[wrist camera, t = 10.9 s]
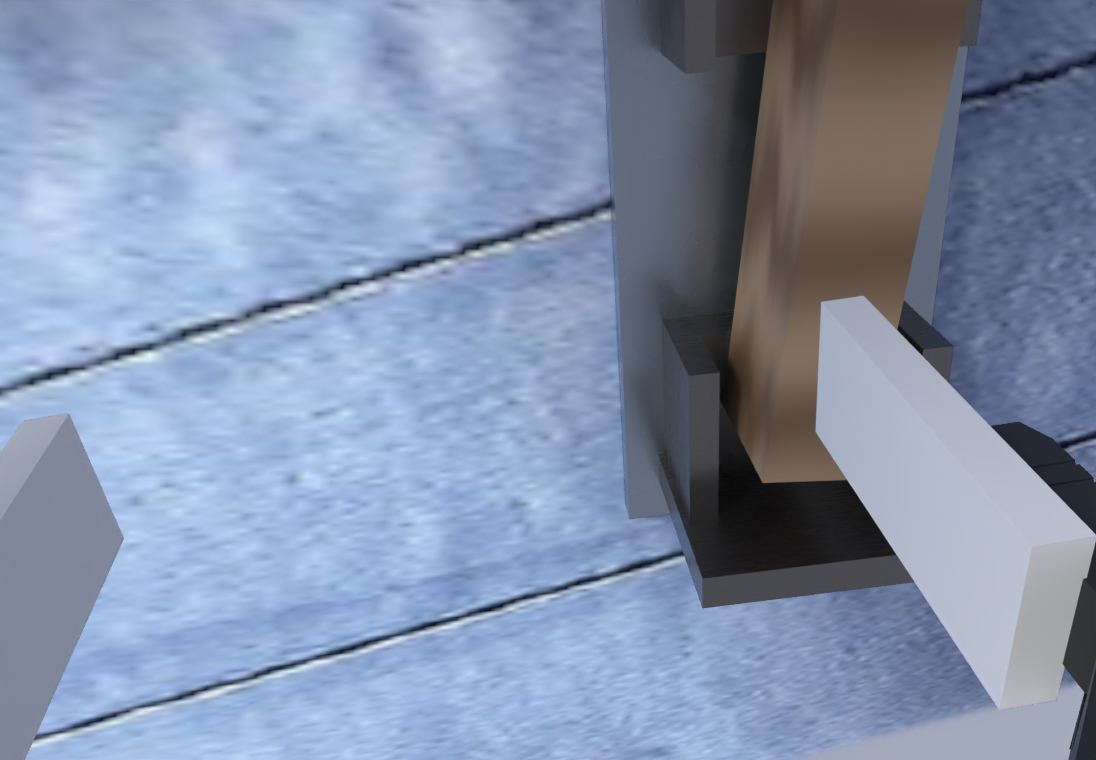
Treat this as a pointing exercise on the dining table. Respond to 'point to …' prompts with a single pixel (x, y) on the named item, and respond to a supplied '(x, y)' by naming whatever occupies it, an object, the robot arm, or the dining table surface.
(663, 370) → the block fixture
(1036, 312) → the dining table surface
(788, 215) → the rail
